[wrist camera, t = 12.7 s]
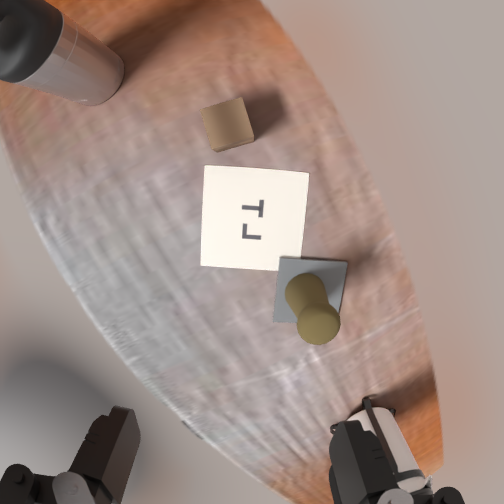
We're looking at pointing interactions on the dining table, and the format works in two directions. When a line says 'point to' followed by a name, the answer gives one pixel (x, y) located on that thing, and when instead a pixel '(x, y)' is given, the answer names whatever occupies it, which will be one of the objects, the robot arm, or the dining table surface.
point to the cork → (312, 309)
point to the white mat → (252, 216)
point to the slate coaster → (324, 269)
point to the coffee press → (388, 451)
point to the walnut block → (227, 125)
